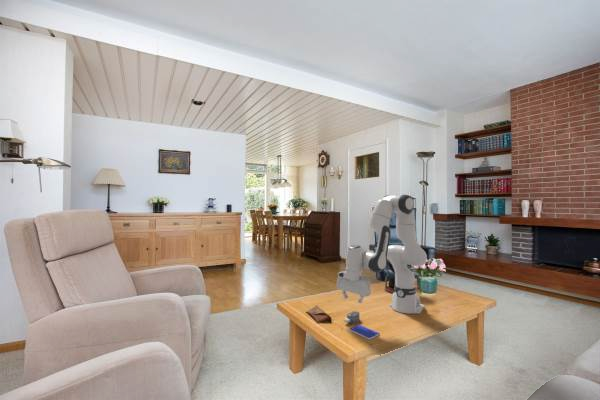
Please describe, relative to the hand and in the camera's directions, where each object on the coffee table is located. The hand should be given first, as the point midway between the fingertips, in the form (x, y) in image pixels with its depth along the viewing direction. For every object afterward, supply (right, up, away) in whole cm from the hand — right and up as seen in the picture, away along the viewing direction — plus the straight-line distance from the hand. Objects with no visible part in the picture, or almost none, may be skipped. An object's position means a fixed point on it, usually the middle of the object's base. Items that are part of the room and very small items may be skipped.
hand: (352, 300), depth 157 cm
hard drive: (+3, -12, -14) cm, 19 cm away
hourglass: (+43, -13, +56) cm, 72 cm away
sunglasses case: (-19, -12, +5) cm, 23 cm away
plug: (-1, -11, -1) cm, 11 cm away
